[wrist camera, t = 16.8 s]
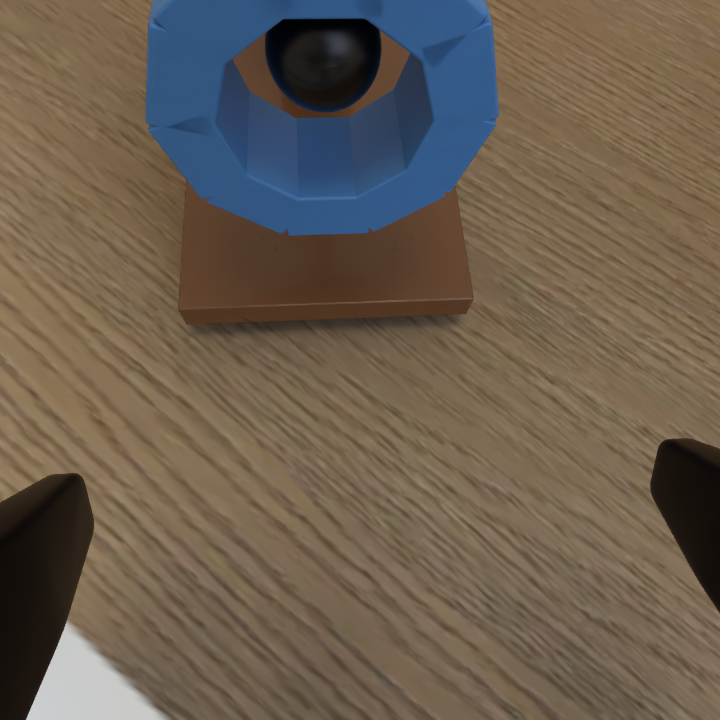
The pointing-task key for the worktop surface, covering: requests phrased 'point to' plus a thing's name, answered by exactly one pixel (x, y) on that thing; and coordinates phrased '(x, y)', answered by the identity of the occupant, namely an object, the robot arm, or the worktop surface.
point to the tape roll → (328, 134)
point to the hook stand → (321, 252)
